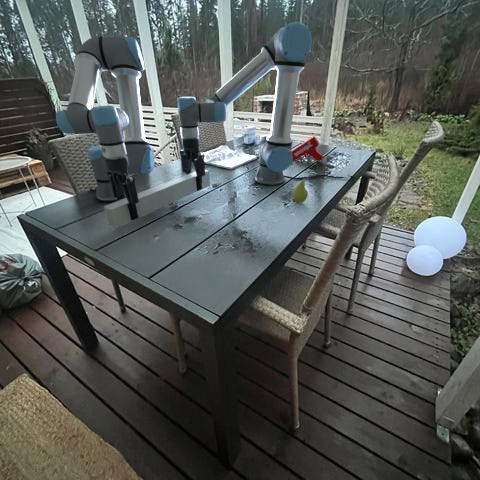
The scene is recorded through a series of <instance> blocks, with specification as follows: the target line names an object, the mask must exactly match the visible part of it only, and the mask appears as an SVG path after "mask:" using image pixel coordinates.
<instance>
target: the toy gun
mask: <svg viewBox="0 0 480 480" xmlns="http://www.w3.org/2000/svg"><path fill="white" fill-rule="evenodd" d="M319 144H320V141H319V140H318V138H317V137H316V136H315V135H313V136H312V137H310V138H309V139H307V140H306V141H304V142H302V143H301V144H300V145H298V146H296V147H294V148H293V149H291V152H292V156H293V160H292V161H294V162H295V161H296V160H295V159H297V160H298V159H300V158H302V157H303V156H304V158H305V159H308V158H309V157H312V158H313V159H314V160H315V161H316V163H319V162H321V161H323V158H324V154H323V153H321V152H320V151H319V150H318V149H317V147H319ZM317 160H319V162H318V161H317ZM320 160H321V161H320Z"/></svg>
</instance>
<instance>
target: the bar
mask: <svg viewBox="0 0 480 480" xmlns="http://www.w3.org/2000/svg"><path fill="white" fill-rule="evenodd" d="M196 176H197V174H196V171H192V173H190V174H187V175H186V174H184V175H182V176H180V177H177V178H175V179H172V180H169V181H166V182H164V183H161V184H159V185H155V186H153V187H151V188H148V189H145V190H143V191H140V192H137V195H138V200H139V202H138V203H136V208H137V213H138V217H139V218H137V219H135V220H133V221H132V220H131V217H130V213H129V209H128V205H127V204H129V203H128V201H127V198H124V199H122V200H119V201H116V202H110V203H108V204H106V205H104V206H103V209H104V213H105V217H106V220H107V222H108V225H109V226H111V227H113V228H114V229H118V228H120V227H123V226H125V225H127V224H129V223H131V222H134V221H136V220H138V219H141V218H143V217H145V216H147V215H149V214H150V213H153V212H155V211H158V210H160V209H162V208H164V207H167V206H169V205H171V204H173V203H175V202H177V201H180V200H182V199H184V198H186V197H189V196H191V195H193V194H195V193H197V192H200V191H202V190H204V189H206V188H208V187H210V186H211V178H210V176H211V175H210V170H208V169H205V175H204V176H202V189H201V190H199V191H197V185H196Z"/></svg>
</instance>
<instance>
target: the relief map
mask: <svg viewBox="0 0 480 480" xmlns="http://www.w3.org/2000/svg"><path fill="white" fill-rule="evenodd" d="M200 153H201V154H205V157H204V164H205V165H206V164H207V165H211V166H215V167H219V168H223V169H227V170H233V169H235V168H238V167H241V166H243V165H245V164H248V163H250V162H252V161H255V160H257V159H258V157H257V156H256V155H253V154H252V155H251V154H247V153H245V151H244V150H243V149H242V148H238V149H235V150H232V149H230V147H229V146H228V145H223V144H221V145H220V146H218V147H215V148H214V149H210V150H208V151H205V152H201V151H200ZM195 160H196V159H195Z"/></svg>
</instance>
